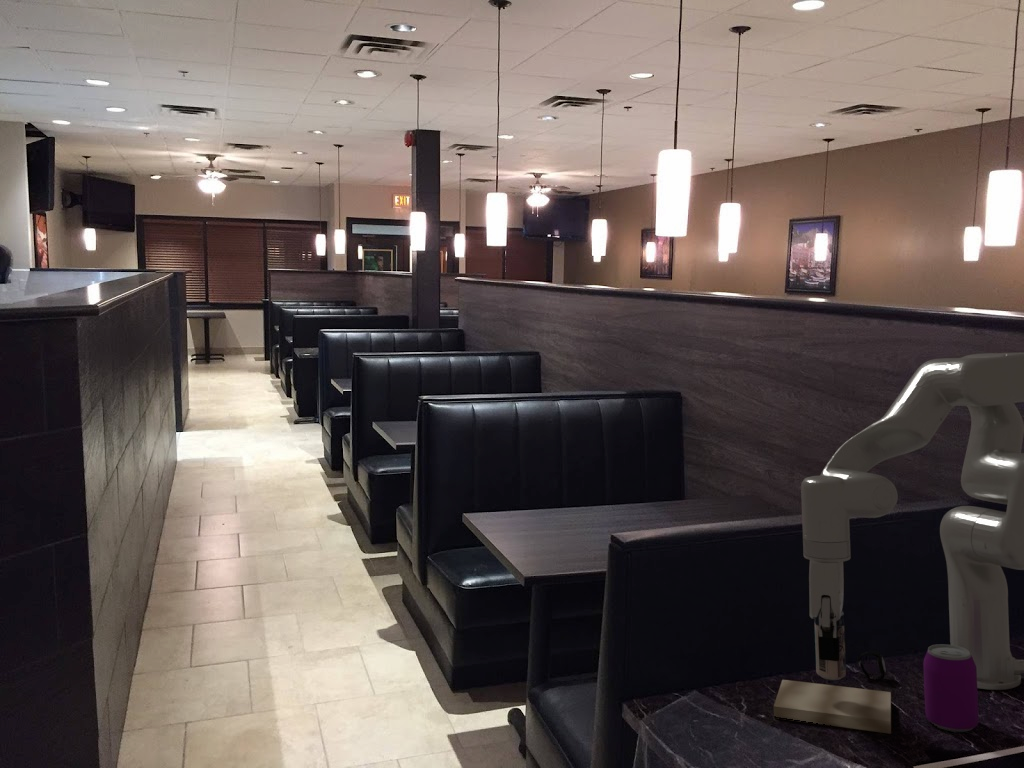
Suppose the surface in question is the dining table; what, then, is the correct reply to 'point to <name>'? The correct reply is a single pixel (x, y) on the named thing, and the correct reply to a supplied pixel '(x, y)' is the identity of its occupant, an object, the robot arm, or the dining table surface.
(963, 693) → the beverage can
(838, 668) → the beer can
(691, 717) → the dining table surface
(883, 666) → the smartwatch
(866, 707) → the birch board
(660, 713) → the dining table surface
